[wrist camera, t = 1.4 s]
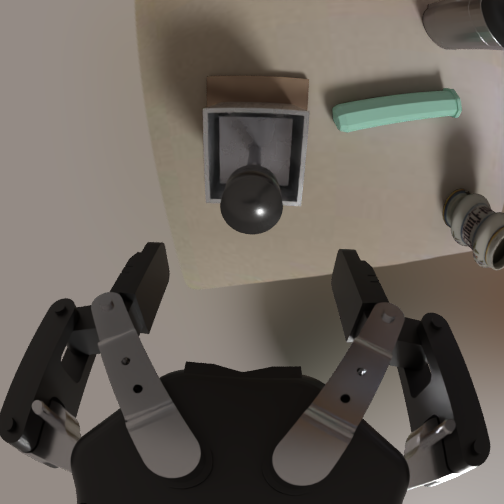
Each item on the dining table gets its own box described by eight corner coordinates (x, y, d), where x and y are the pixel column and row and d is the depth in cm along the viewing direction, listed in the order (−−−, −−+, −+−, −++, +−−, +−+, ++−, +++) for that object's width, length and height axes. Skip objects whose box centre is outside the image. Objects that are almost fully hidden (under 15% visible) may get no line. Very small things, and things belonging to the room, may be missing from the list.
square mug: (220, 102, 39) (200, 108, 25) (291, 104, 38) (309, 111, 25) (221, 179, 46) (204, 221, 33) (286, 181, 46) (298, 224, 33)
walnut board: (208, 76, 37) (206, 76, 36) (307, 79, 37) (308, 79, 36) (210, 187, 48) (208, 189, 47) (299, 190, 48) (300, 192, 47)
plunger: (220, 116, 29) (182, 143, 15) (292, 118, 29) (323, 147, 15) (220, 181, 34) (192, 258, 20) (287, 183, 34) (308, 262, 20)
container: (342, 133, 36) (465, 114, 31) (329, 98, 35) (454, 83, 30) (336, 140, 42) (450, 120, 37) (325, 108, 41) (440, 92, 36)
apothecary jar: (481, 189, 45) (530, 229, 30) (465, 234, 51) (506, 279, 36) (448, 178, 44) (501, 219, 29) (432, 228, 51) (474, 278, 36)
